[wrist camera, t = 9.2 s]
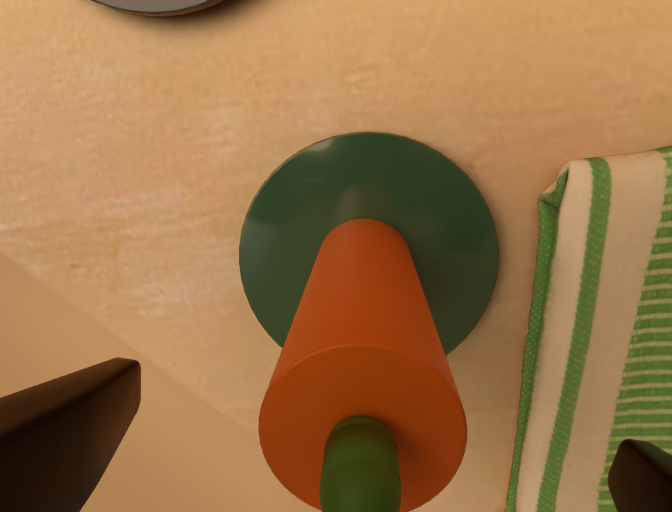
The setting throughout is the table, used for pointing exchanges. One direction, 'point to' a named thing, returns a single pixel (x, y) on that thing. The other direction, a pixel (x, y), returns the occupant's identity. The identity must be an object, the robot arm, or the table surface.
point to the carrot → (363, 383)
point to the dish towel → (596, 331)
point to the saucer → (372, 203)
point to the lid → (158, 6)
